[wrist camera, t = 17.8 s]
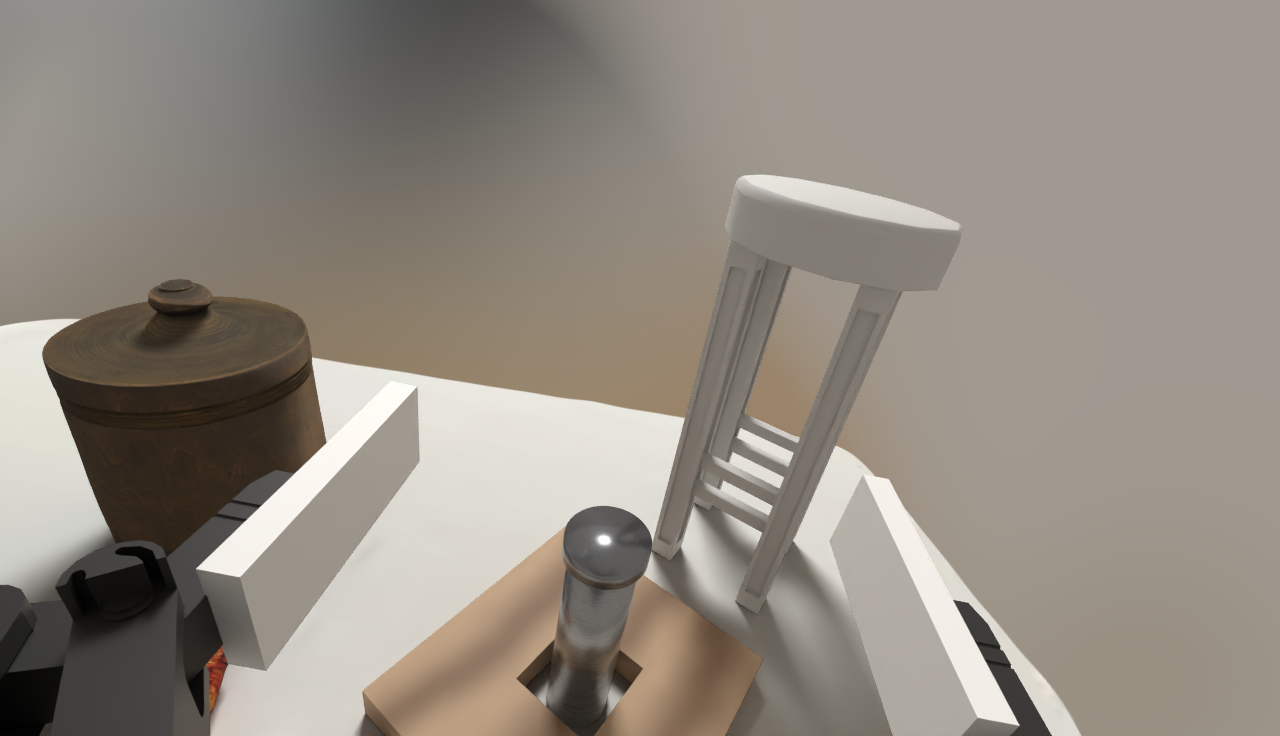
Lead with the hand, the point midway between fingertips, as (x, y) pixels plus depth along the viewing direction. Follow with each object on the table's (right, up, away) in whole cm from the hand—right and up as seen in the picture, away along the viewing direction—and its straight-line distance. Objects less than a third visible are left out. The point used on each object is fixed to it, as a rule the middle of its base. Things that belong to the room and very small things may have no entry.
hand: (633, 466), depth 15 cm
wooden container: (-36, -11, +31) cm, 48 cm away
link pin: (-4, -21, +22) cm, 31 cm away
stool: (+9, -16, +38) cm, 42 cm away
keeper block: (-4, -21, +22) cm, 31 cm away
